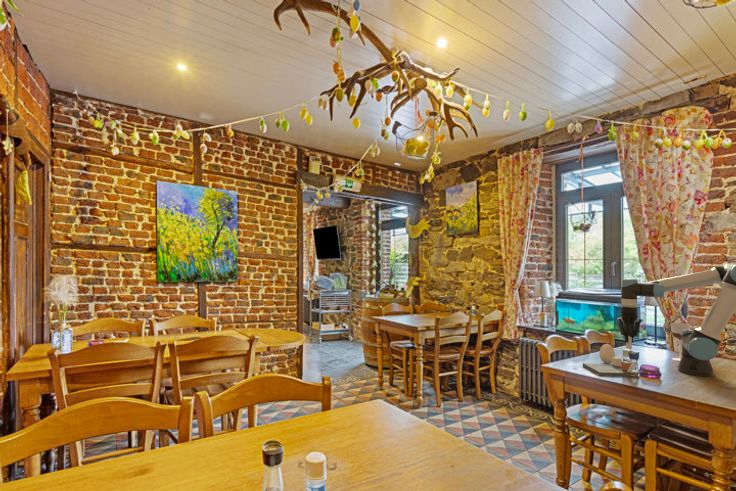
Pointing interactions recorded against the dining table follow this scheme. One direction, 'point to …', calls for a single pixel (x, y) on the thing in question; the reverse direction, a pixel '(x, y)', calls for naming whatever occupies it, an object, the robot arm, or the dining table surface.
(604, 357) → the egg
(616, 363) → the fader
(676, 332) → the wineglass
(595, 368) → the beige flat board
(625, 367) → the fader
